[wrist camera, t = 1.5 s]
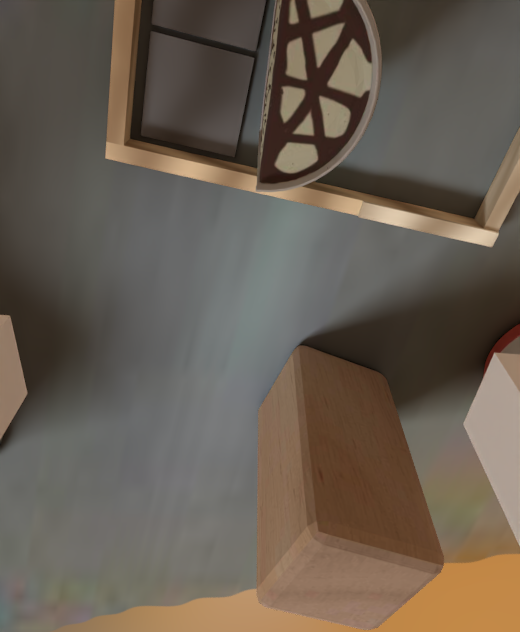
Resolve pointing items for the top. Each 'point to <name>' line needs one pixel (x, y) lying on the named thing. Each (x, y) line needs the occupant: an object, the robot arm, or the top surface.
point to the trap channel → (227, 112)
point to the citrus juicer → (506, 345)
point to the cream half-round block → (316, 89)
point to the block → (338, 497)
